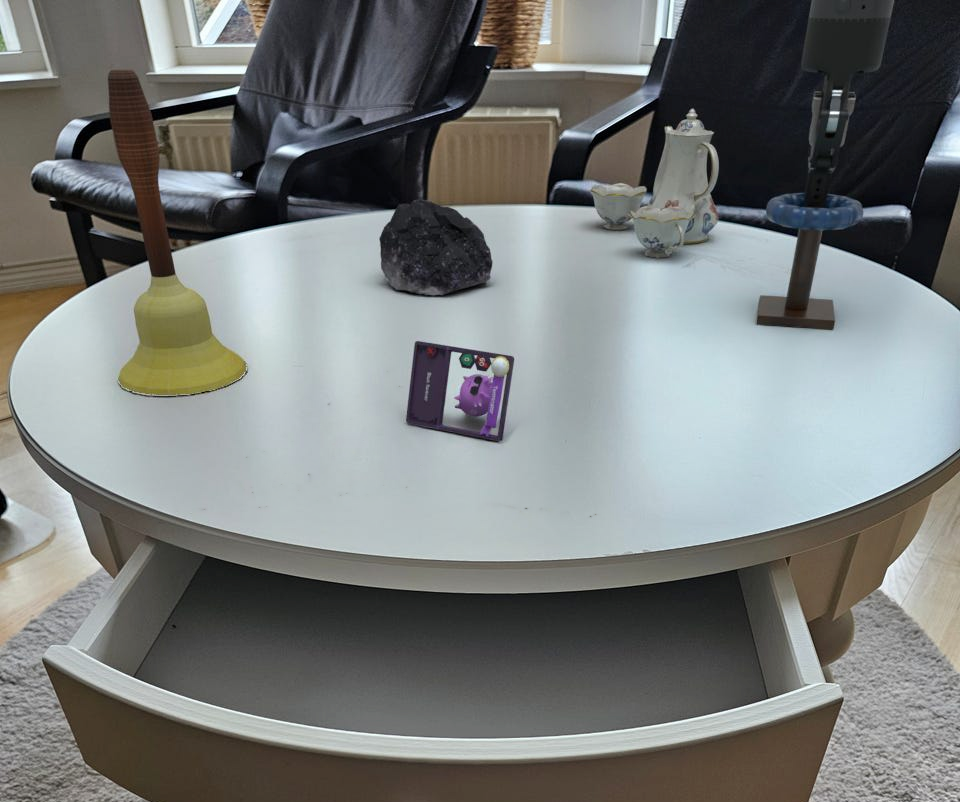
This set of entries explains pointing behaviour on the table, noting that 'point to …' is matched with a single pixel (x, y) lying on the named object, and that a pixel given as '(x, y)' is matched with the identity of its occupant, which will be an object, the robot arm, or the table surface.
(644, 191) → the chinaware
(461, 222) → the dark grey rock
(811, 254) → the post
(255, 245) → the table surface
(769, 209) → the ring
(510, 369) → the game card
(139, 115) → the handbell
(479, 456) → the table surface
